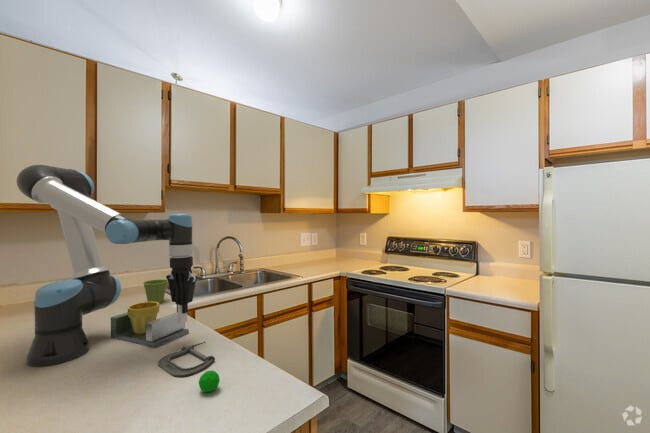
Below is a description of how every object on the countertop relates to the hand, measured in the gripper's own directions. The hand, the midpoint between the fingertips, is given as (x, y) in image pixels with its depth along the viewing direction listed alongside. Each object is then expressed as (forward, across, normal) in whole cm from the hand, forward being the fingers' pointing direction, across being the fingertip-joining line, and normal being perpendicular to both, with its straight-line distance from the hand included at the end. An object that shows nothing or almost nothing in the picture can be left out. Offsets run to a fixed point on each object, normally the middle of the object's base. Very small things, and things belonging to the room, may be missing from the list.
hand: (182, 322), depth 108 cm
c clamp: (+8, -14, +9) cm, 18 cm away
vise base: (+7, +16, 0) cm, 18 cm away
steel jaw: (+5, +8, 0) cm, 9 cm away
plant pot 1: (+7, +54, -32) cm, 64 cm away
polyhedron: (+8, -32, +20) cm, 38 cm away
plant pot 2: (+6, +19, +1) cm, 20 cm away
